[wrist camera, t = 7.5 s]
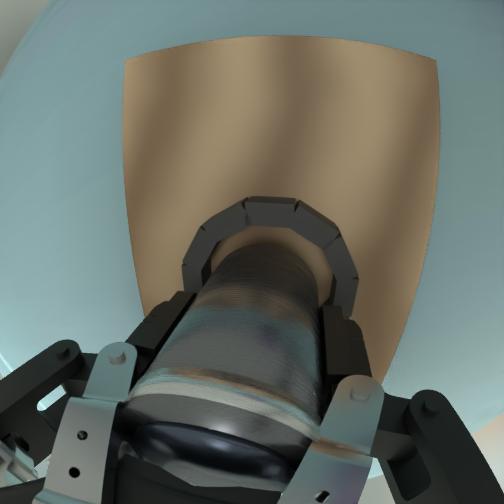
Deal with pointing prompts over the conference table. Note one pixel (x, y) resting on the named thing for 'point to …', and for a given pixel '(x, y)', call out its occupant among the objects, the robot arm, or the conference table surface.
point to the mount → (285, 168)
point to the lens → (237, 377)
